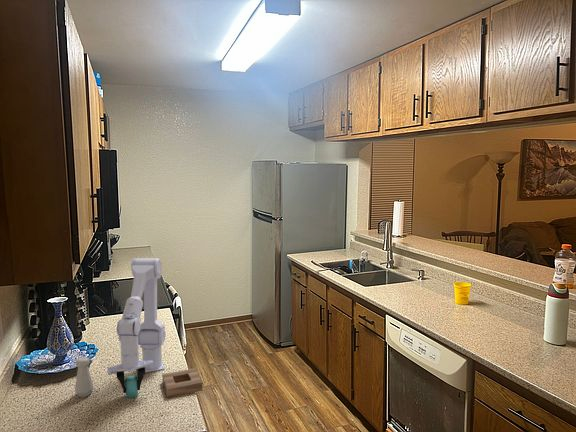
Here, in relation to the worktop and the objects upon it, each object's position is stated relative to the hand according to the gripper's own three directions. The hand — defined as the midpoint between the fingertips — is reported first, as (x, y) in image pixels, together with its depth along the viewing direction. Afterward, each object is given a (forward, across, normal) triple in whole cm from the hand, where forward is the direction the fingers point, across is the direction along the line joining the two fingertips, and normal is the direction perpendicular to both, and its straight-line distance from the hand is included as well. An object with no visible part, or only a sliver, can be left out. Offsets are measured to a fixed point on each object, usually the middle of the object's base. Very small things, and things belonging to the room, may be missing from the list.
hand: (131, 390), depth 152 cm
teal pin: (+2, 0, 0) cm, 2 cm away
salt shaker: (+2, -15, +7) cm, 17 cm away
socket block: (+2, +17, -1) cm, 17 cm away
